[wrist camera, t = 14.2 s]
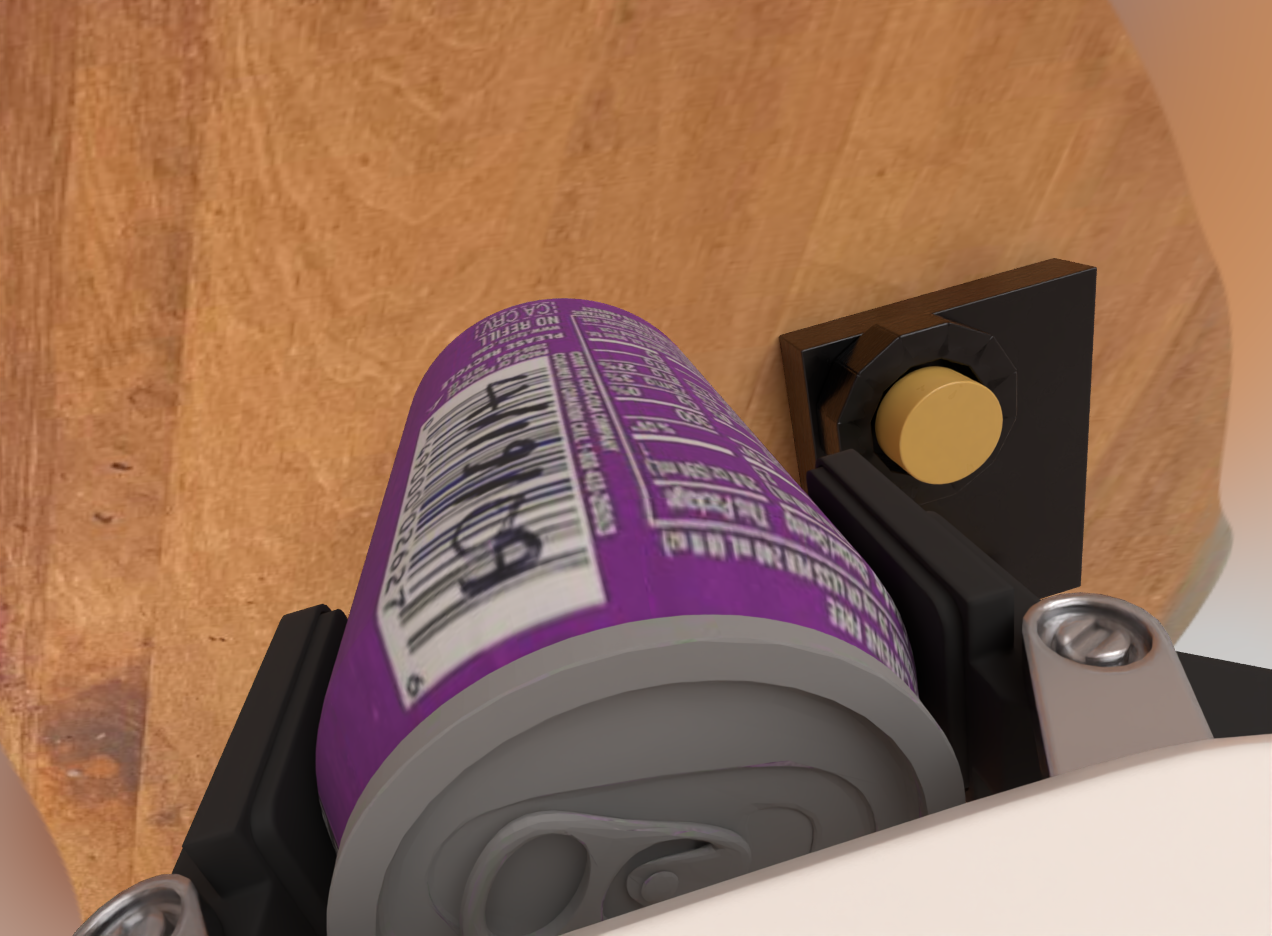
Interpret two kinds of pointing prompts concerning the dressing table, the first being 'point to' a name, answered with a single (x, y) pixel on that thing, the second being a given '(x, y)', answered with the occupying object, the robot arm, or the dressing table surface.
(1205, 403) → the dressing table surface
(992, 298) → the lamp base
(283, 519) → the dressing table surface
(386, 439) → the dressing table surface
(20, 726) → the dressing table surface
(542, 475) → the beverage can
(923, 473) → the button
